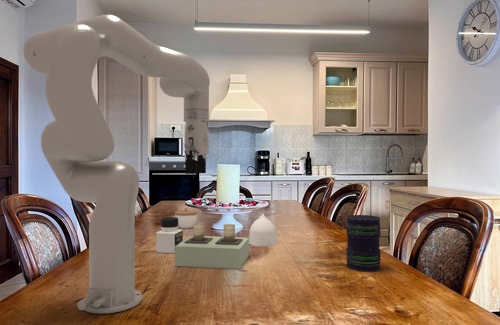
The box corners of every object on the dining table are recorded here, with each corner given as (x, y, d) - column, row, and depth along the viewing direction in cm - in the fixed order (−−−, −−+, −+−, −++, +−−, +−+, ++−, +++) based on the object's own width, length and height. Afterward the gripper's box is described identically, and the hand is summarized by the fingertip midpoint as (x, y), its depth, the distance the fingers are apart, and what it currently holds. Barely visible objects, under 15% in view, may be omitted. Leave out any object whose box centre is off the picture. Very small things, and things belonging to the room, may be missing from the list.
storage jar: (357, 273, 103) (357, 220, 103) (339, 264, 112) (339, 215, 112) (388, 270, 106) (387, 219, 106) (368, 261, 115) (368, 214, 115)
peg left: (202, 245, 116) (202, 225, 116) (191, 245, 116) (191, 224, 116) (206, 243, 119) (205, 223, 119) (195, 242, 120) (195, 223, 120)
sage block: (239, 269, 107) (239, 247, 107) (175, 266, 111) (175, 244, 111) (249, 255, 123) (249, 236, 123) (192, 253, 126) (192, 234, 126)
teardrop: (266, 239, 150) (266, 209, 150) (282, 244, 141) (282, 212, 141) (243, 242, 144) (243, 211, 144) (259, 247, 135) (259, 215, 135)
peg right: (233, 246, 114) (233, 226, 114) (222, 246, 114) (222, 225, 114) (235, 244, 117) (235, 224, 117) (225, 243, 118) (225, 223, 118)
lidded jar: (201, 227, 178) (201, 207, 178) (186, 230, 168) (186, 210, 168) (185, 225, 183) (185, 206, 183) (169, 228, 174) (169, 208, 174)
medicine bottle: (175, 253, 126) (175, 218, 126) (155, 252, 127) (155, 218, 127) (183, 248, 133) (183, 215, 133) (164, 248, 134) (164, 215, 134)
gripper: (199, 112, 101) (199, 174, 101) (215, 120, 118) (215, 173, 118) (174, 112, 102) (173, 173, 102) (193, 120, 119) (193, 172, 119)
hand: (196, 173), depth 110 cm, fingers open, 9 cm apart
